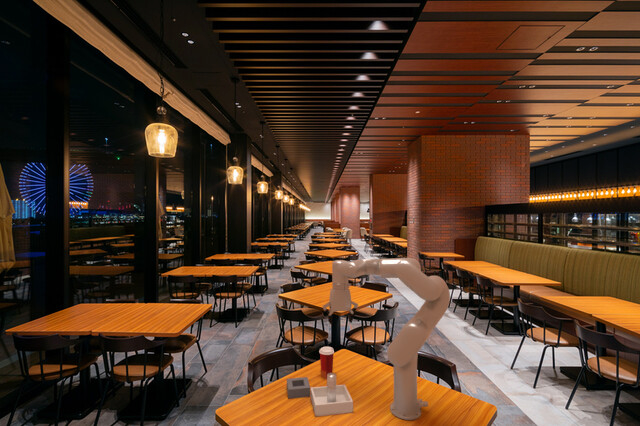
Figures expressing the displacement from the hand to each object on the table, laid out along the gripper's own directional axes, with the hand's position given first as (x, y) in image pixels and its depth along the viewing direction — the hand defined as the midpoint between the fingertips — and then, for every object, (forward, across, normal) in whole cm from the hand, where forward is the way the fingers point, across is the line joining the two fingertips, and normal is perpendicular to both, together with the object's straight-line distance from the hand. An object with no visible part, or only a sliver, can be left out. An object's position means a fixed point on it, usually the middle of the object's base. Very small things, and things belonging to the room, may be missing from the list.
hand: (340, 322), depth 148 cm
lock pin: (+31, +7, +10) cm, 34 cm away
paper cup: (+32, +4, -16) cm, 36 cm away
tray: (+32, +7, +9) cm, 34 cm away
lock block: (+32, +20, -4) cm, 38 cm away
